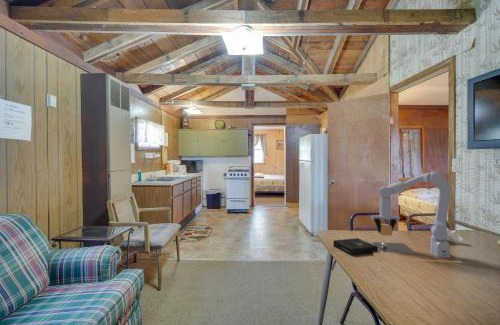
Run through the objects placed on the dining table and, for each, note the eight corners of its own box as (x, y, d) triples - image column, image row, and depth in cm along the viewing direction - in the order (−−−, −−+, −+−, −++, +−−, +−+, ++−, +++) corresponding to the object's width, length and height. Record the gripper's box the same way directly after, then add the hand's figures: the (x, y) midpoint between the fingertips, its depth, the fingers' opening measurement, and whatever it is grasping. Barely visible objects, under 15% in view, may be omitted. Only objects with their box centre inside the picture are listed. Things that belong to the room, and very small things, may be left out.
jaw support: (450, 234, 182) (457, 226, 175) (456, 247, 176) (463, 240, 169) (430, 234, 183) (436, 226, 176) (435, 247, 177) (441, 239, 170)
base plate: (416, 255, 152) (416, 248, 152) (380, 253, 155) (380, 247, 155) (403, 245, 170) (403, 239, 170) (371, 243, 173) (371, 237, 173)
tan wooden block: (391, 235, 159) (391, 226, 159) (381, 235, 160) (381, 226, 160) (388, 232, 165) (388, 224, 165) (378, 232, 165) (378, 223, 165)
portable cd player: (378, 253, 156) (378, 246, 156) (351, 256, 151) (351, 249, 151) (358, 244, 172) (358, 238, 172) (333, 247, 167) (333, 240, 167)
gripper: (396, 207, 165) (396, 231, 165) (369, 206, 167) (369, 230, 167) (401, 209, 158) (400, 234, 158) (373, 208, 160) (372, 233, 160)
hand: (384, 232), depth 162 cm, fingers closed on tan wooden block, 6 cm apart
